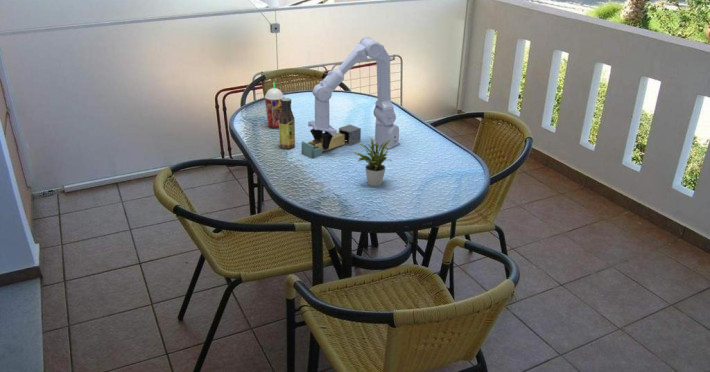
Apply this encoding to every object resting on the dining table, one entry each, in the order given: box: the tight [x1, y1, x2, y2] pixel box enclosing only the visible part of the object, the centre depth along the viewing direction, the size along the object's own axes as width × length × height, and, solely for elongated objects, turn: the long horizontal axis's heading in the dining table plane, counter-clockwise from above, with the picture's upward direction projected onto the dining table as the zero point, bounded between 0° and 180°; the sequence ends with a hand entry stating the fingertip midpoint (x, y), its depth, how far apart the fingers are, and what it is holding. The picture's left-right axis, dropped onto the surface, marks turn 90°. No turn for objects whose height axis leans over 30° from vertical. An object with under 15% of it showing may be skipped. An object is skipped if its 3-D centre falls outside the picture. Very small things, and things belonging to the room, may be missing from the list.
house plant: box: [353, 137, 393, 187], centre depth 210 cm, size 14×14×16 cm
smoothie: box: [264, 81, 285, 129], centre depth 259 cm, size 8×8×20 cm
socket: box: [301, 141, 323, 159], centre depth 234 cm, size 5×7×5 cm
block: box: [307, 131, 345, 153], centre depth 239 cm, size 16×4×4 cm, turn 135°
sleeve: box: [338, 124, 362, 146], centre depth 247 cm, size 6×6×6 cm
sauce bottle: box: [278, 97, 296, 150], centre depth 238 cm, size 7×6×20 cm
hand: (322, 147), depth 238 cm, fingers closed on block, 4 cm apart
